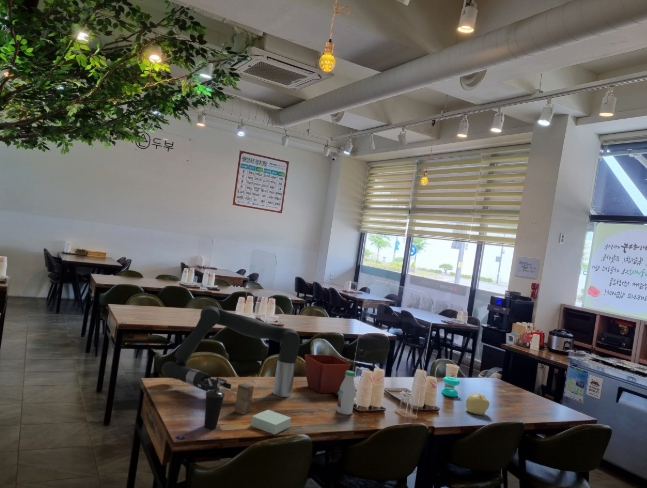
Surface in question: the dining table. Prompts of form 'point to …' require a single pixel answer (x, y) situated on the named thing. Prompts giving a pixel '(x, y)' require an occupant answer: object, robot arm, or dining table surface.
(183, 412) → the dining table surface
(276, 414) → the base slab
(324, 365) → the plant pot
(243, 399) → the walnut block
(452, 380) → the donuts
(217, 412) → the drinking cup
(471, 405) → the pale yellow round lump
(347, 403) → the milk bottle
